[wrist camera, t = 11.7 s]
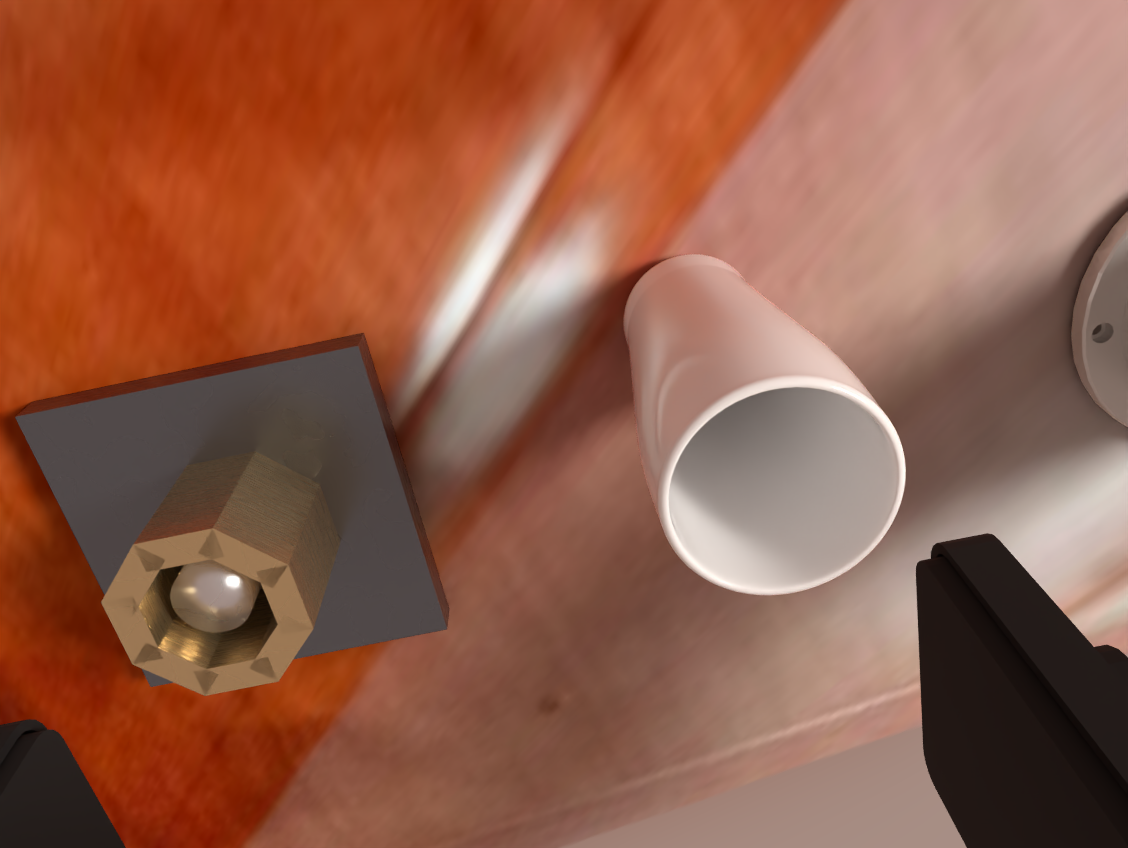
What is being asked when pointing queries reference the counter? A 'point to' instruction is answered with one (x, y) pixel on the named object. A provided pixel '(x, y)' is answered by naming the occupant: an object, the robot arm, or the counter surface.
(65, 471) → the shaft block
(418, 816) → the counter surface
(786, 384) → the drinking glass
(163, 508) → the hub ring
